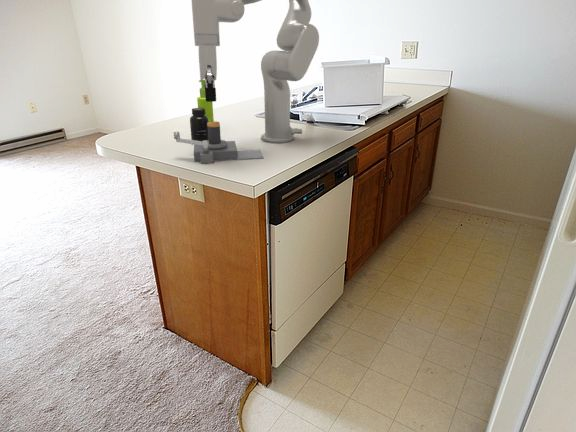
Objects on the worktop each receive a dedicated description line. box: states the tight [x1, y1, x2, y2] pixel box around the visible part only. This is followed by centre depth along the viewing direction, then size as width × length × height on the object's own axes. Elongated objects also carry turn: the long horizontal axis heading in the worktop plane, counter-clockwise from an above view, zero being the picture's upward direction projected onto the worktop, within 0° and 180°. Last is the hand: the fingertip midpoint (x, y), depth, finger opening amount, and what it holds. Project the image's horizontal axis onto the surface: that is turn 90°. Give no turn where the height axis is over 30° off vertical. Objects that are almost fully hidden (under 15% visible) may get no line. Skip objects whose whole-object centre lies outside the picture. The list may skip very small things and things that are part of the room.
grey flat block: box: [193, 140, 238, 165], centre depth 139 cm, size 14×14×3 cm
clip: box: [173, 131, 209, 153], centre depth 134 cm, size 2×13×5 cm, turn 66°
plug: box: [207, 120, 227, 149], centre depth 138 cm, size 8×8×11 cm
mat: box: [235, 149, 264, 161], centre depth 141 cm, size 9×9×1 cm
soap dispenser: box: [196, 79, 215, 122], centre depth 167 cm, size 6×7×20 cm
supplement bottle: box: [189, 107, 209, 141], centre depth 154 cm, size 7×7×12 cm
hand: (210, 98), depth 132 cm, fingers open, 9 cm apart
